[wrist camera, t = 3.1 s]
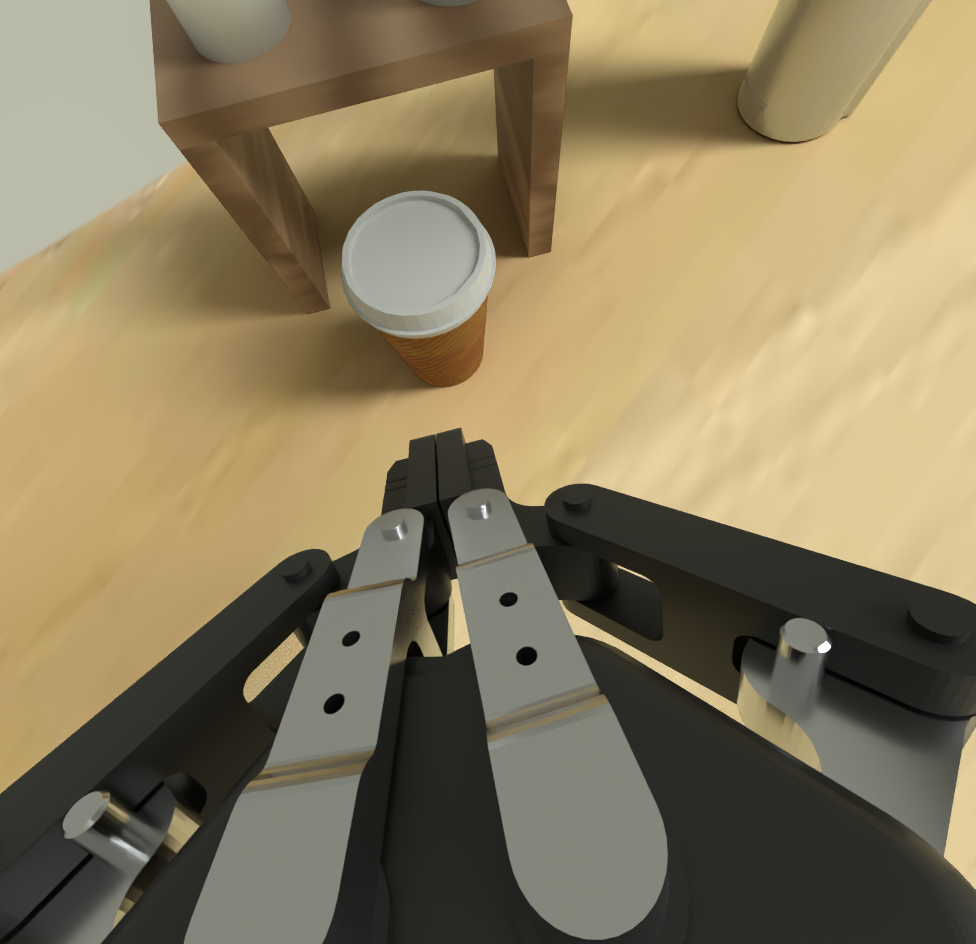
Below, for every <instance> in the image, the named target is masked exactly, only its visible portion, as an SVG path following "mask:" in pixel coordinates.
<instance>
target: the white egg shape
mask: <svg viewBox="0 0 976 944" xmlns="http://www.w3.org/2000/svg"><path fill="white" fill-rule="evenodd" d="M421 1H423V2H425V3H428V4H431V5H436V6H445V7H449V6H460V5H465V4H468V3H472V2H474V1H477V0H421Z"/></svg>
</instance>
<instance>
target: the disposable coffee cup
mask: <svg viewBox="0 0 976 944" xmlns="http://www.w3.org/2000/svg"><path fill="white" fill-rule="evenodd" d="M495 270H496V258H495V249H494V246H493V243H492V240H491V238H490V236H489V234H488V232H487V230H486V229H485V228H484V227H483V225H482V224H481V223H480V221H479V220H478V218H477V217H476V215H475V214H474V213H473V212H472V211H471V210H470V209H469V207H467V206H466V205H465V204H463V203H462V202H461V201H459V200H457V199H455V198H453V197H451V196H449V195H445V194H441V193H436V192H432V191H409V192H402V193H399V194H396V195H393V196H390V197H387V198H385V199H383V200H381V201H379V202H377V203H376V204H374V205H373V206H371V207H370V208H368V209H367V210H366V211H365V212H364V213H363V214H362V215H361V216H360V217H359V218H358V219H357V220H356V222H355V223H354V225H353V226H352V227H351V229H350V230H349V232H348V235H347V237H346V240H345V243H344V245H343V251H342V275H341V277H342V283H343V289H344V292H345V294H346V297H347V299H348V301H349V304H350V305H351V306H352V307H353V309H354V310H355V311H356V312H357V314H358V315H359V316H360V317H361V318H362V319H363V320H365V321H366V322H368V323H369V324H370V325H372V326H373V327H375V328H376V329H378V330H379V331H380V332H381V334H382V335H383V336H384V337H385V339H386V340H388V342H389V343H390V344H391V345H392V347H393V348H394V349H395V350H396V351H397V352H398V354H399V355H400V356H401V357H402V358H403V359H404V361H405V362H406V363H407V364H408V365H409V367H410V368H411V369H412V370H413V371H414V373H415V374H416V375H417V376H418V377H419V378H420V379H421V380H423V381H425V382H426V383H428V384H431V385H435V386H440V387H447V386H453V385H457V384H460V383H462V382H464V381H466V380H467V379H468V378H470V377H471V376H472V375H473V374H474V373H475V372H476V370H477V369H478V367H479V366H480V363H481V361H482V357H483V346H484V334H485V323H486V310H487V298H488V292H489V290H490V288H491V286H492V283H493V279H494V276H495Z"/></svg>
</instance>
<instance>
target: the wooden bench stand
mask: <svg viewBox="0 0 976 944" xmlns="http://www.w3.org/2000/svg"><path fill="white" fill-rule="evenodd" d="M287 2H288V4H289V7H290V10H291V24H290V27H289V29H288V32H287V33H286V35H285V37H284V38H283V39H282V40H281V42H280V43H279V44H278V45H277V46H275V47H274V48H273V49H272V50H270V51H269V52H267V53H266V54H264V55H262V56H260V57H258V58H256V59H253V60H250V61H247V62H242V63H235V64H224V63H218V62H214V61H211V60H209V59H207V58H205V57H203V56H202V55H201V54H200V53H199V52H198V51H197V50H196V48H195V47H194V45H193V43H192V42H191V40H190V38H189V37H188V35H187V33H186V32H185V30H184V29H183V27H182V25H181V24H180V22H179V20H178V19H177V17H176V15H175V14H174V12H173V10H172V9H171V7H170V5H169V4H168V2H167V1H166V0H150V11H151V25H152V39H153V52H154V66H155V81H156V95H157V109H158V122H159V124H160V126H161V127H162V128H163V130H164V131H165V132H166V134H167V135H168V136H169V137H170V139H171V140H172V141H173V142H174V144H175V145H176V146H177V148H178V149H179V150H180V151H181V153H182V154H183V155H184V156H185V158H186V159H187V160H188V162H189V163H190V164H191V165H192V167H193V168H194V169H195V170H196V172H197V173H198V174H199V176H200V177H201V178H202V179H203V181H204V182H205V183H206V184H207V186H208V187H209V188H210V190H211V191H212V192H213V193H214V195H215V196H216V197H217V198H218V200H219V201H220V202H221V204H222V205H223V206H224V207H225V209H226V210H227V211H228V212H229V214H230V215H231V216H232V218H233V219H234V220H235V221H236V223H237V224H238V225H239V226H240V228H241V229H242V230H243V232H244V233H245V234H246V235H247V237H248V238H249V239H250V240H251V242H252V243H253V244H254V246H255V247H256V248H257V249H258V251H259V252H260V253H261V254H262V256H263V257H264V258H265V260H266V261H267V262H268V263H269V265H270V266H271V267H272V268H273V270H274V271H275V272H276V274H277V275H278V276H279V277H280V279H281V280H282V281H283V282H284V284H285V285H286V286H287V288H288V289H289V290H290V291H291V293H292V294H293V295H294V296H295V298H296V299H297V300H298V302H299V303H300V304H301V305H302V307H303V308H304V309H305V311H306V312H307V313H308V314H309V313H313V312H317V311H321V310H325V309H329V308H330V305H329V299H328V294H327V288H326V282H325V276H324V271H323V265H322V259H321V253H320V248H319V242H318V236H317V230H316V225H315V219H314V213H313V208H312V206H311V205H310V203H309V201H308V199H307V197H306V196H305V194H304V192H303V190H302V188H301V187H300V185H299V183H298V181H297V179H296V178H295V176H294V174H293V172H292V170H291V168H290V167H289V165H288V163H287V161H286V159H285V158H284V156H283V154H282V152H281V150H280V149H279V147H278V145H277V143H276V141H275V140H274V138H273V136H272V134H271V132H270V131H269V129H268V127H271V126H275V125H279V124H283V123H287V122H291V121H294V120H298V119H302V118H306V117H310V116H314V115H317V114H321V113H325V112H329V111H333V110H337V109H341V108H344V107H348V106H352V105H356V104H360V103H364V102H367V101H371V100H375V99H379V98H383V97H387V96H391V95H394V94H398V93H402V92H406V91H410V90H414V89H417V88H421V87H425V86H429V85H433V84H437V83H441V82H444V81H448V80H452V79H456V78H460V77H464V76H467V75H471V74H475V73H479V72H483V71H487V70H491V69H494V83H495V103H496V122H497V142H498V161H499V164H500V167H501V170H502V174H503V177H504V180H505V183H506V186H507V190H508V193H509V196H510V199H511V202H512V206H513V209H514V212H515V215H516V218H517V222H518V225H519V228H520V231H521V234H522V238H523V241H524V244H525V247H526V250H527V254H528V257H532V256H536V255H539V254H543V253H547V252H551V244H552V233H553V223H554V212H555V201H556V190H557V179H558V168H559V157H560V147H561V136H562V125H563V114H564V103H565V92H566V81H567V71H568V60H569V49H570V38H571V27H572V16H573V15H572V13H571V10H570V8H569V5H568V3H567V1H566V0H477V1H474V2H472V3H468V4H465V5H460V6H449V7H445V6H436V5H431V4H428V3H425V2H423V1H421V0H287Z"/></svg>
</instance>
